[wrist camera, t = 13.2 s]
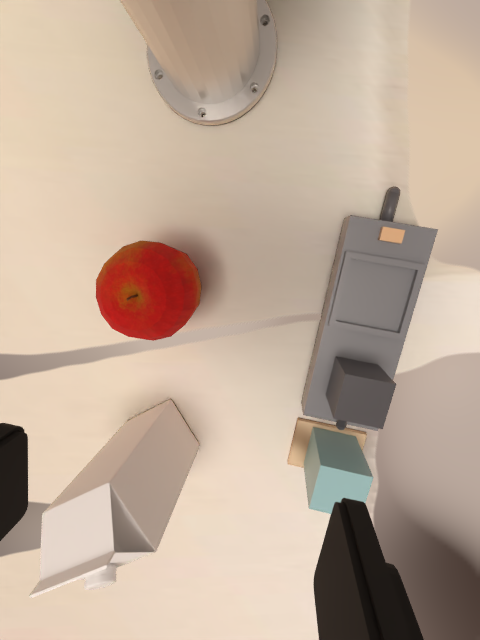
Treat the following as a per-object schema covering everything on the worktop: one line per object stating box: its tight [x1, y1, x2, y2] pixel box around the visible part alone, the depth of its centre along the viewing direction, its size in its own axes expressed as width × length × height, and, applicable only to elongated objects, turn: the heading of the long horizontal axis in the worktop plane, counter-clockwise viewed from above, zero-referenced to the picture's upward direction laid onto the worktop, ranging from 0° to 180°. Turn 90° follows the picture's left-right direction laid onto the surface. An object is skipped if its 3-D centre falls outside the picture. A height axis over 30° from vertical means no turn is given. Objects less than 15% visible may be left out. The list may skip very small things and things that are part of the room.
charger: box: [304, 427, 373, 514], centre depth 34 cm, size 5×5×7 cm
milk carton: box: [29, 399, 200, 598], centre depth 31 cm, size 7×7×19 cm
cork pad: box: [288, 418, 367, 468], centre depth 38 cm, size 6×8×1 cm
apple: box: [96, 241, 201, 340], centre depth 31 cm, size 9×9×12 cm
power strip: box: [301, 187, 438, 431], centre depth 31 cm, size 25×8×8 cm, turn 170°
